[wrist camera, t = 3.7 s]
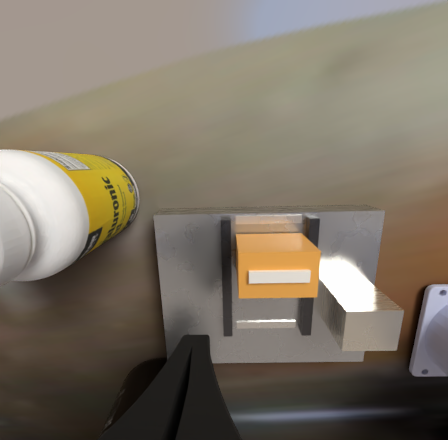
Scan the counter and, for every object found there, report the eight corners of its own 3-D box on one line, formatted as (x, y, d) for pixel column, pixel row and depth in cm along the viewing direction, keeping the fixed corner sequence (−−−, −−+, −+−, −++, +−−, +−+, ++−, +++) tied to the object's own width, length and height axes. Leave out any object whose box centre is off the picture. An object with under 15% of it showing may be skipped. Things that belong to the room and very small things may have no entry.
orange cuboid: (301, 232, 14) (322, 252, 11) (299, 270, 15) (318, 299, 12) (235, 234, 14) (238, 254, 11) (236, 271, 15) (238, 300, 12)
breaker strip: (365, 204, 16) (426, 223, 11) (348, 340, 19) (391, 403, 14) (162, 208, 16) (134, 228, 11) (173, 342, 19) (155, 405, 14)
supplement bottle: (132, 243, 17) (10, 348, 7) (57, 219, 16) (-174, 298, 7) (150, 170, 16) (33, 182, 6) (70, 143, 15) (-191, 111, 6)
